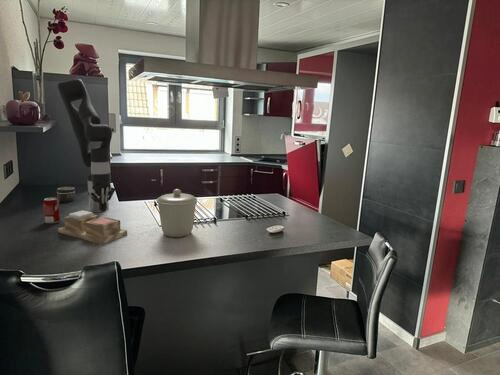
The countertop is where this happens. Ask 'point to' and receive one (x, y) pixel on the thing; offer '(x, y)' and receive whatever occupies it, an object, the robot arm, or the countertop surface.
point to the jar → (66, 194)
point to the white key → (81, 215)
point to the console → (92, 229)
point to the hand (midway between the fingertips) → (103, 210)
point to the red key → (102, 221)
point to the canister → (177, 213)
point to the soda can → (51, 210)
